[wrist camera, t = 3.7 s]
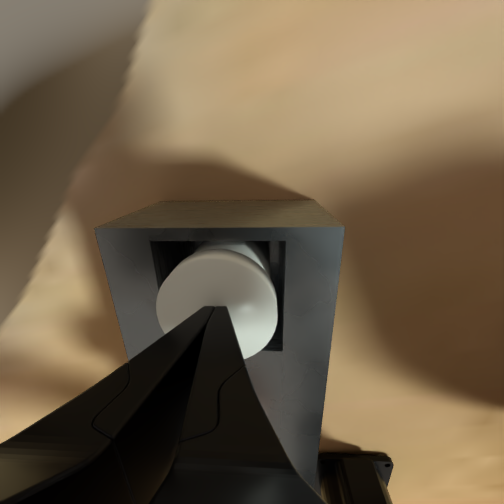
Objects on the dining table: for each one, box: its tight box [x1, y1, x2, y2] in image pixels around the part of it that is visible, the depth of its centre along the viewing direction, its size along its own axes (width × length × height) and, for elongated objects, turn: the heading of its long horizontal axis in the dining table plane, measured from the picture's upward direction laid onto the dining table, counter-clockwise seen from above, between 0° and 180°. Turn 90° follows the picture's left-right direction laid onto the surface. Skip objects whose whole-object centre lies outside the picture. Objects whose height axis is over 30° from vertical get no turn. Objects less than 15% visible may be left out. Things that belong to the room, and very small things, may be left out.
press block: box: [94, 200, 345, 489], centre depth 14 cm, size 17×9×6 cm, turn 1°
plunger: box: [156, 241, 278, 359], centre depth 11 cm, size 4×4×6 cm
